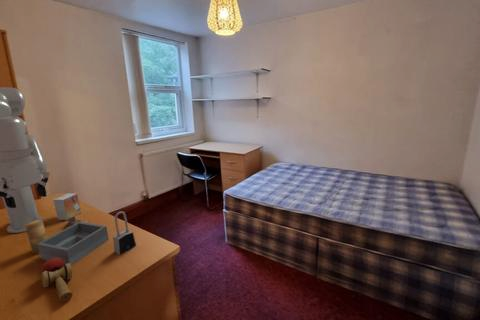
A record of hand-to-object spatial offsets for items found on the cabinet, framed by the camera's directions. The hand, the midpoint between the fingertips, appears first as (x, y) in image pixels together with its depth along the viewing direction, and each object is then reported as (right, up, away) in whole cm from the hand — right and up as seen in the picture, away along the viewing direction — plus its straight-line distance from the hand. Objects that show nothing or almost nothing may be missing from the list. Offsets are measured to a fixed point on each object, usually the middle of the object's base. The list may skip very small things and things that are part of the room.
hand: (28, 201), depth 84 cm
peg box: (+14, -19, +5) cm, 24 cm away
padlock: (+33, -18, +4) cm, 38 cm away
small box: (-7, -13, +31) cm, 34 cm away
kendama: (+21, -23, -13) cm, 34 cm away
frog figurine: (+2, -16, +21) cm, 26 cm away
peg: (0, -19, +5) cm, 20 cm away
